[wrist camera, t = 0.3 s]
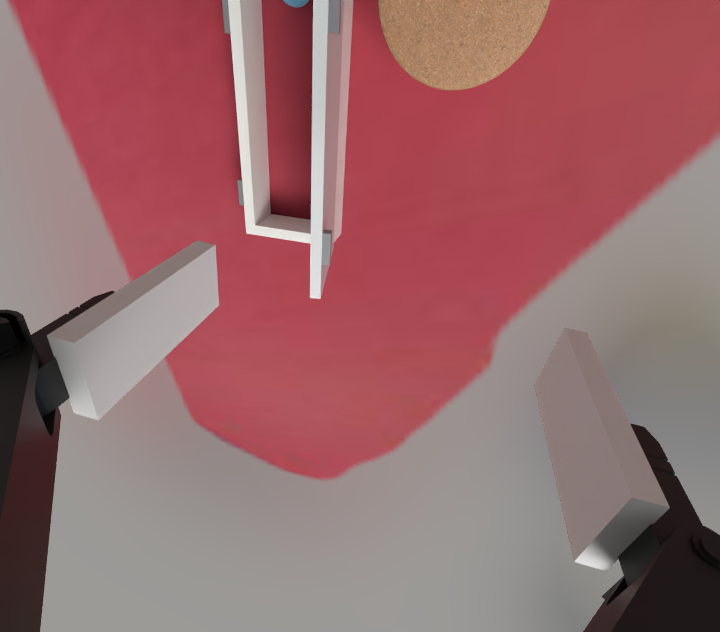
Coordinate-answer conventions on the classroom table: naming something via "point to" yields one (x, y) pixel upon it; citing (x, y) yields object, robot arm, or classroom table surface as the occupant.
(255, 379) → the classroom table surface
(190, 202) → the classroom table surface
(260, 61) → the white latched case
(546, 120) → the classroom table surface
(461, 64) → the lidded jar
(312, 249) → the cover
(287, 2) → the blue pill shape
